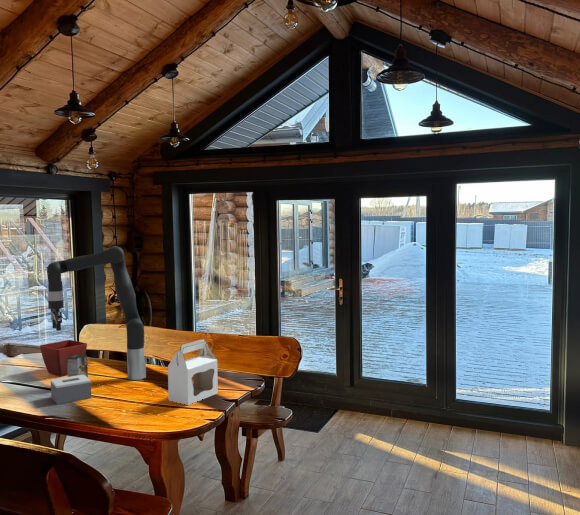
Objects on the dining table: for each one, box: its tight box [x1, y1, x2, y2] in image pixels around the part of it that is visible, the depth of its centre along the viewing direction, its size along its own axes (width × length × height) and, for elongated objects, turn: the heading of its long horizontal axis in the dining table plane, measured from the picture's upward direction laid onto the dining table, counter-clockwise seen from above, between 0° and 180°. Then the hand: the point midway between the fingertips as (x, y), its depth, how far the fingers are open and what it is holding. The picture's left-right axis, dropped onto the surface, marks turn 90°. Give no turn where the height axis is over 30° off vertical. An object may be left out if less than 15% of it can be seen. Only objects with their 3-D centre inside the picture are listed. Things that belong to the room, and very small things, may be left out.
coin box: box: [50, 374, 92, 405], centre depth 266 cm, size 16×13×9 cm
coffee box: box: [67, 354, 89, 378], centre depth 286 cm, size 9×6×16 cm
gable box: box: [167, 338, 219, 406], centre depth 266 cm, size 22×13×28 cm, turn 147°
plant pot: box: [39, 339, 88, 377], centre depth 311 cm, size 19×19×17 cm
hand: (56, 329), depth 286 cm, fingers open, 8 cm apart
